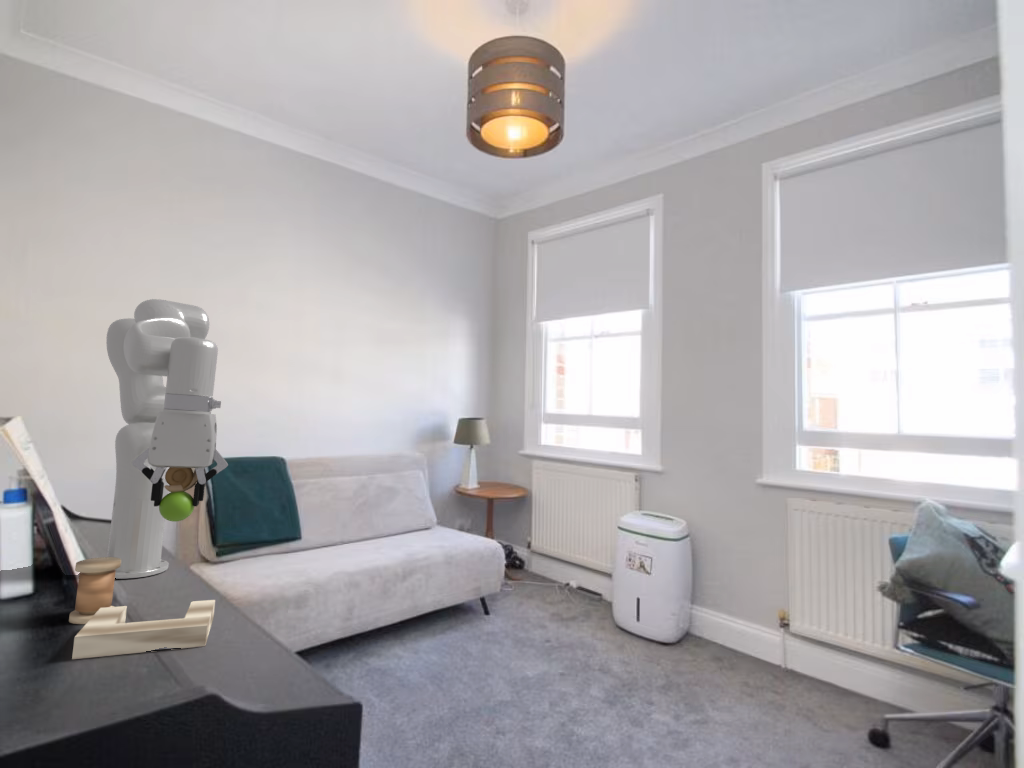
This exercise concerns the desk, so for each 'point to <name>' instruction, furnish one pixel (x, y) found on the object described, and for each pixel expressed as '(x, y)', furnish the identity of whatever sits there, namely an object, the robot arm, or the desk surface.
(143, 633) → the notched board
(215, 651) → the desk surface
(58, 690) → the desk surface
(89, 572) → the bobbin
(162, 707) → the desk surface
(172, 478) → the snail figurine
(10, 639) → the desk surface
